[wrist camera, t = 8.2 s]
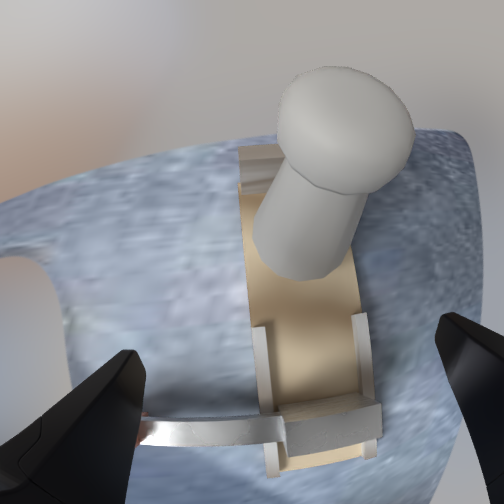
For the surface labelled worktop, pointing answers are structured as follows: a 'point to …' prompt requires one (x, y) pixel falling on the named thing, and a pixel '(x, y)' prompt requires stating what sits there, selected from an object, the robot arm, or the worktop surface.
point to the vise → (301, 326)
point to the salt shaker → (328, 168)
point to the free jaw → (275, 426)
